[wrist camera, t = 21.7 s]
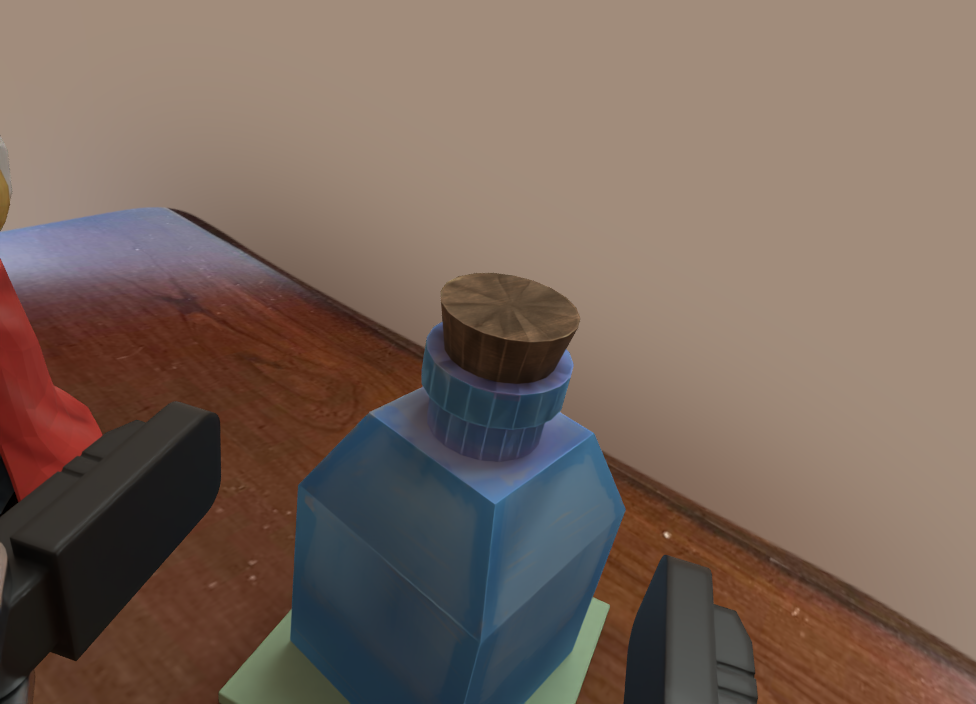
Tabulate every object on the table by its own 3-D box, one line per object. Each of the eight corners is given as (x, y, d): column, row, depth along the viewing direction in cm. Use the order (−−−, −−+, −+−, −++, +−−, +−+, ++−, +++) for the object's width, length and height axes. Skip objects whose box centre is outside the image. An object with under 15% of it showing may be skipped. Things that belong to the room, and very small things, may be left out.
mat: (606, 614, 25) (610, 604, 24) (512, 878, 17) (516, 868, 17) (384, 510, 27) (386, 500, 27) (217, 703, 20) (217, 692, 19)
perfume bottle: (438, 796, 18) (539, 425, 12) (290, 640, 21) (309, 280, 15) (572, 651, 22) (694, 327, 16) (433, 539, 25) (493, 229, 19)
